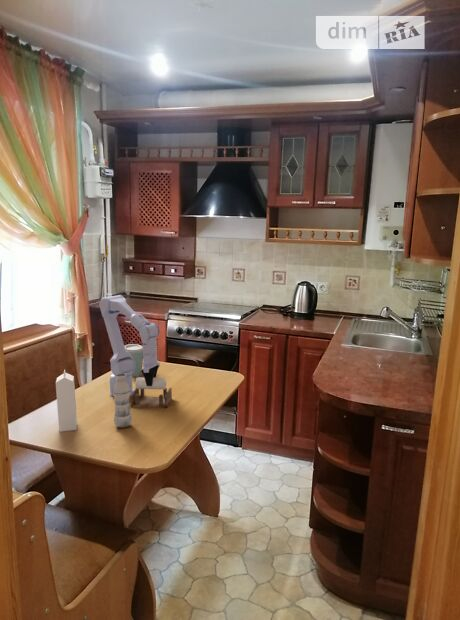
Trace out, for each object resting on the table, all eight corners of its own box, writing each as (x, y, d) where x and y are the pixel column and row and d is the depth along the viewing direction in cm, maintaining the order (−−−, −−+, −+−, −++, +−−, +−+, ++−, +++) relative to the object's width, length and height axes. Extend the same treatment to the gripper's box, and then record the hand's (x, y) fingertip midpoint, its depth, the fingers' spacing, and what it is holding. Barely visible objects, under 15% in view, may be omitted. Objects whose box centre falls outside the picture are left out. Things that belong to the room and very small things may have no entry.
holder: (130, 406, 187) (130, 395, 186) (137, 397, 197) (137, 386, 196) (166, 408, 186) (166, 396, 185) (171, 398, 195) (171, 388, 194)
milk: (59, 432, 164) (54, 374, 160) (60, 425, 170) (55, 369, 166) (76, 430, 166) (72, 372, 161) (77, 423, 171) (73, 367, 167)
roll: (135, 389, 188) (135, 378, 188) (138, 387, 192) (138, 376, 192) (163, 390, 187) (164, 378, 187) (166, 388, 191) (166, 377, 191)
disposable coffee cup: (149, 372, 230) (148, 344, 227) (137, 379, 220) (136, 349, 217) (131, 370, 234) (130, 342, 231) (119, 376, 224) (118, 347, 221)
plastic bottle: (116, 431, 165) (114, 379, 161) (112, 424, 170) (110, 373, 167) (134, 427, 168) (132, 376, 164) (129, 420, 173) (127, 371, 170)
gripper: (155, 357, 180) (156, 390, 182) (163, 348, 194) (164, 378, 196) (137, 357, 180) (139, 389, 183) (147, 347, 194) (148, 377, 197)
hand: (151, 383), depth 190 cm, fingers closed on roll, 5 cm apart
